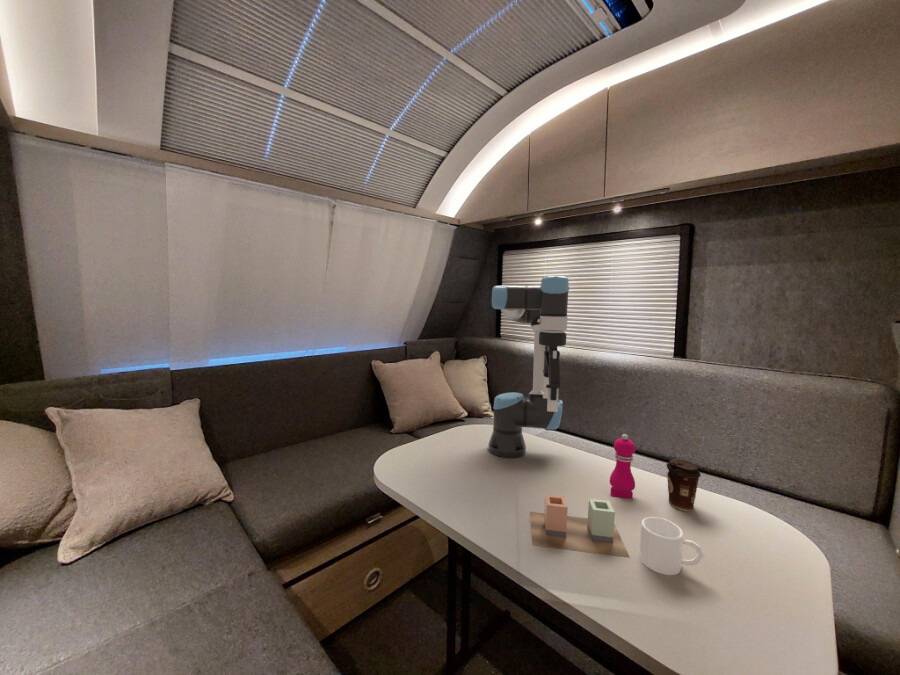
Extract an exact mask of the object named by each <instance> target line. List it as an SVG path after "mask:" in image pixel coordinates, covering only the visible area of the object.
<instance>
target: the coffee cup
mask: <svg viewBox="0 0 900 675" xmlns="http://www.w3.org/2000/svg"><path fill="white" fill-rule="evenodd" d="M665 465H666V468H667V469H668V472H667V477H666V478H667V492H668V503H669V504H670V505H671V506H672V507H673V508H675V509H677V510H680V511H683V512H684V511H685V512H690V511H693V510H694V507H695V505H694V504H695V500H696V494H697V490H698V489H697V488H698V484H699V479H700V477H701V471H700V470H699V467H698V466H697V465H696V464H693V463H692V462H690V461H688V460H685V459H680V458H672V459H671V460H669V461H668V462H667V463H666V464H665Z"/></svg>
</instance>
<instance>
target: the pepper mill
mask: <svg viewBox="0 0 900 675" xmlns="http://www.w3.org/2000/svg"><path fill="white" fill-rule="evenodd" d="M613 449H614V451H615V452H614V458H615V459H616V460H615V467H614V469H613V470H612V472H611V474H610V476H609V484H610V486H611V487H610V496H612V497H613V498H621V499H629V500H633V497H634V492H633V491H634V490H635V487H636V481H635V477H634V475H633V473H632V469H631V464H632V461H633V460H634V458H633V457H634V456H633V455H634V454H635V452H636V445H635V443H634V442H633V441H632V440H631V439H629V436H628V434H626V433H623V434H622V435H621V437H620V438H618V439H616V440H615V441H614V444H613Z"/></svg>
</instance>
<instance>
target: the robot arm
mask: <svg viewBox="0 0 900 675" xmlns="http://www.w3.org/2000/svg"><path fill="white" fill-rule="evenodd" d="M569 282H570V281H569V278H568V277H567V276H563V275H562V276H561V275H560V276H559V275H551V276H550V275H549V276H543V277H542V278H541V282H540V285H505V284H502V285H494V286H493V287H492V290H491V306H492V307H491V308H492V309H495V310H501V313H502V314H503V316H504V317H505V318H506V319H508V320H510V321H512V322H515V323H518V324H530V329H531V330H532V331H533V332H534V336H533V337H534V340H533V343H534V344H533V376H532V390H531V391H530V392H529V393H528V397H525V396H524V394H523V393H520V392H505V393H501V394H498V395H496V396H495V397H494V401H493V407H492V409H493V421H492V422H493V425H492V426H493V428H492V432H491V433H492V434H491V436H490V439H489V441H488V446H487V448H488V449H487V450H488V451H489V453H491V454H492V455H493V456H494V455H495V456H498V457H501V458H507V459H508V458H509V459H513V458H520V457H522V456H525V454H526V452H527V451H526V450H527V445H526V442H525V439H524V435H523V428H530V429H539V430H540V429H541V430H545V431H546V430H557V429H558V428H559V427H560V425H561V424H560V423H561V420H562V415H563V403H564V402H563V400H562V399H560V398H559V397H560V395H559V390H560V389H559V388H560V387H561V378H560V377H561V375H560V373H561V372H560V370H561V369H560V357H561V352H560V350H558V347H563V346H566V345H567V333H566V331H568V306H569V301H568V300H569V291H570V286H569V285H570V284H569Z"/></svg>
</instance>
